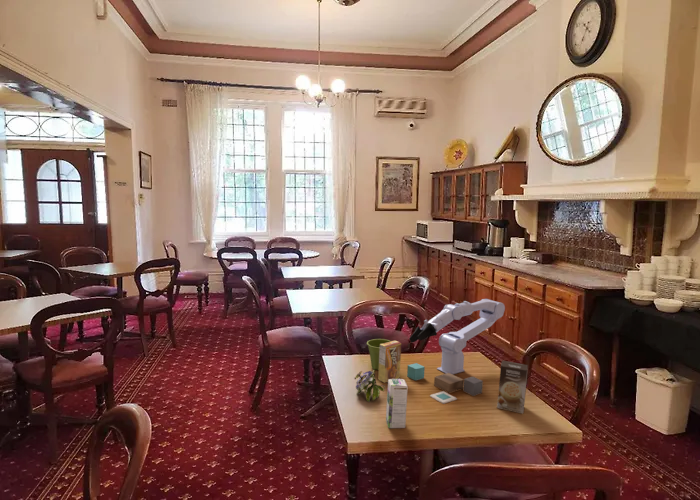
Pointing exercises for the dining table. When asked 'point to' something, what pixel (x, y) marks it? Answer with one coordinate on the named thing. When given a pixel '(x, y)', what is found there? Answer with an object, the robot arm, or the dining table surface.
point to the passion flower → (365, 382)
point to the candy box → (389, 361)
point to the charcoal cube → (473, 386)
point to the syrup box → (396, 403)
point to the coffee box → (512, 386)
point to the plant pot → (375, 351)
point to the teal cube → (415, 371)
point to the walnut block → (448, 382)
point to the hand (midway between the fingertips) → (414, 339)
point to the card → (443, 397)
